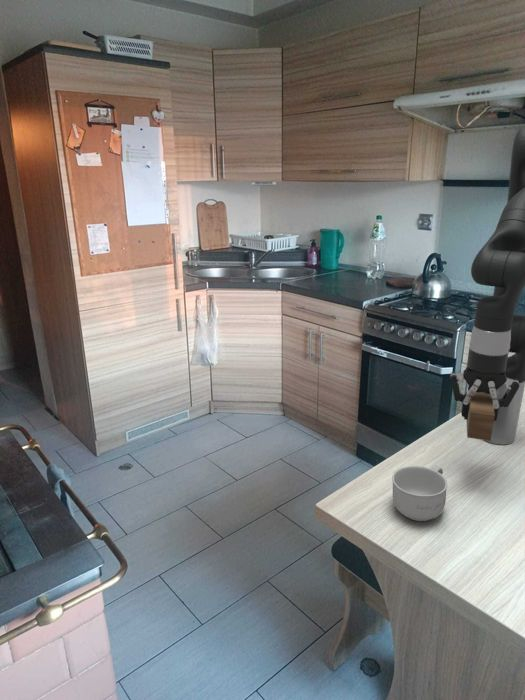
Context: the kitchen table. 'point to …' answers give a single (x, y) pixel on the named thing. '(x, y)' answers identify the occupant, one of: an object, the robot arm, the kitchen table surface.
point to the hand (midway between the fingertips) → (477, 419)
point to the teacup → (419, 492)
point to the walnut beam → (480, 417)
